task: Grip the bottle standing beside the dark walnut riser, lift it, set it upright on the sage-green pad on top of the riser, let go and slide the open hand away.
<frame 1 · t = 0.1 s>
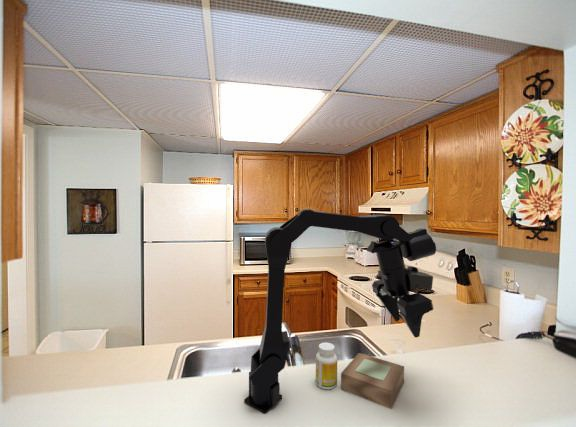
hand: (406, 328, 69), 15 cm above the countertop, tool pointing down, fingers open, 9 cm apart
walnut riser: (373, 385, 72), on the countertop
supplement bottle: (326, 384, 72), on the countertop
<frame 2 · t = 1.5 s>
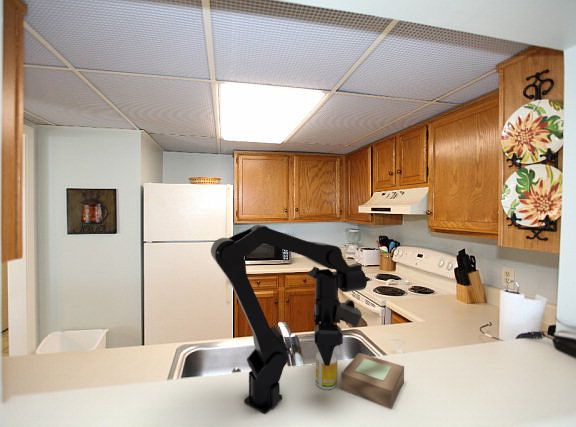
hand: (326, 355, 72), 7 cm above the countertop, tool pointing down, fingers open, 9 cm apart
nothing on the countertop moved.
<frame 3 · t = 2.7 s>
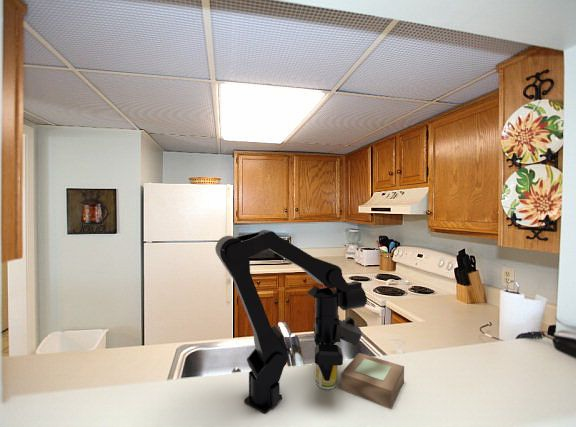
hand: (326, 373, 72), 3 cm above the countertop, tool pointing down, fingers closed on supplement bottle, 5 cm apart
supplement bottle: (326, 384, 72), on the countertop, touching gripper
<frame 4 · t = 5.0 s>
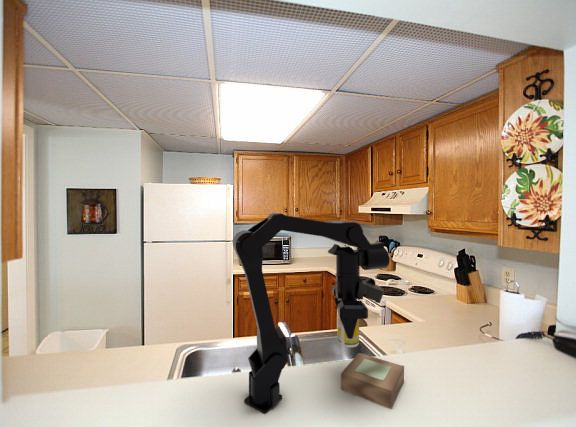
hand: (348, 333, 72), 13 cm above the countertop, tool pointing down, fingers closed on supplement bottle, 5 cm apart
supplement bottle: (348, 343, 72), point 10 cm above the countertop, touching gripper
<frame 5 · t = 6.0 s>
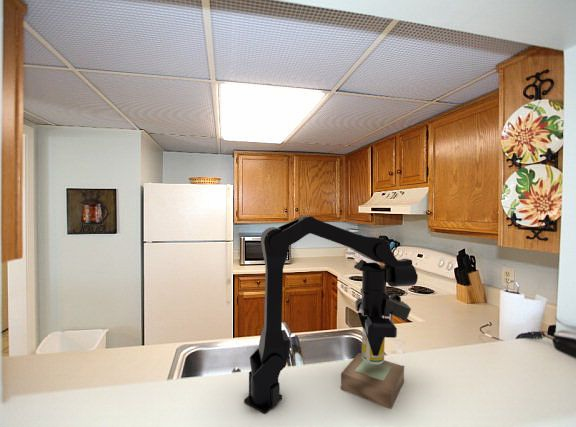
hand: (372, 349, 71), 9 cm above the countertop, tool pointing down, fingers closed on supplement bottle, 5 cm apart
supplement bottle: (372, 360, 71), point 6 cm above the countertop, touching gripper
when the fingers open (8 cm above the countertop, at t = 7.0 s): supplement bottle drops 1 cm, resting on walnut riser.
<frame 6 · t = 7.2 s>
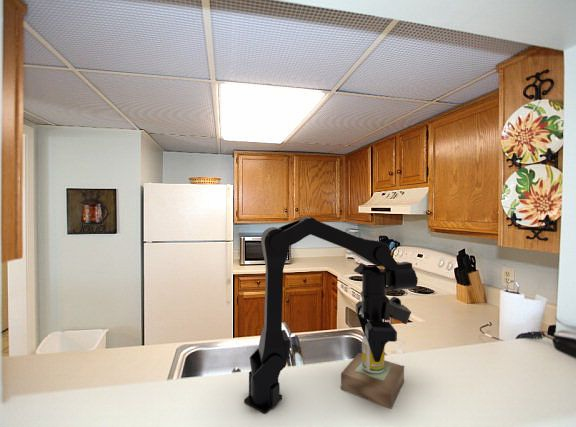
hand: (373, 353, 71), 8 cm above the countertop, tool pointing down, fingers open, 8 cm apart
supplement bottle: (373, 369, 71), point 4 cm above the countertop, touching walnut riser
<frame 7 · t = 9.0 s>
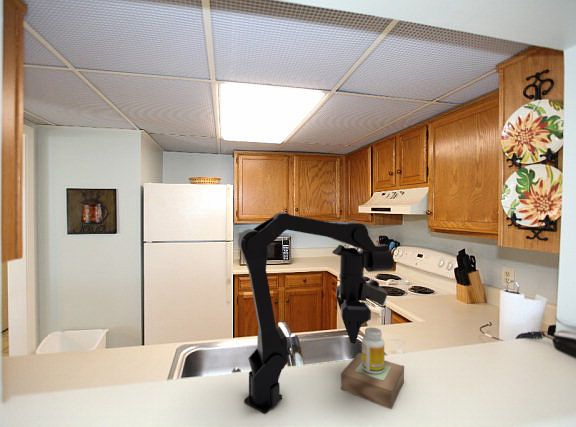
hand: (350, 334, 72), 13 cm above the countertop, tool pointing down, fingers open, 9 cm apart
nothing on the countertop moved.
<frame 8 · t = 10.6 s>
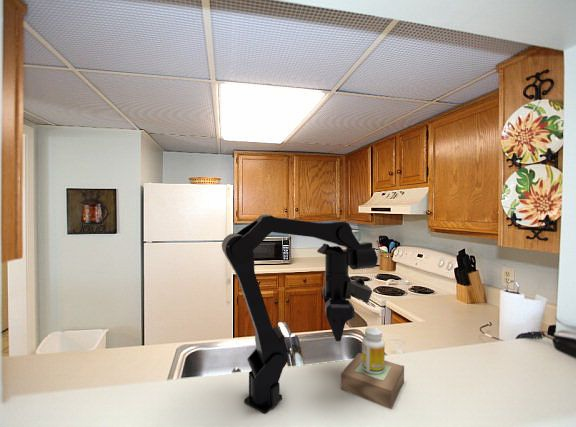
hand: (336, 332, 72), 13 cm above the countertop, tool pointing down, fingers open, 9 cm apart
nothing on the countertop moved.
at the end: supplement bottle inside the target area on the walnut riser (0.1 cm from its centre), point 4.0 cm above the walnut riser's base; supplement bottle tilted 1°; the gripper is holding nothing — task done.
